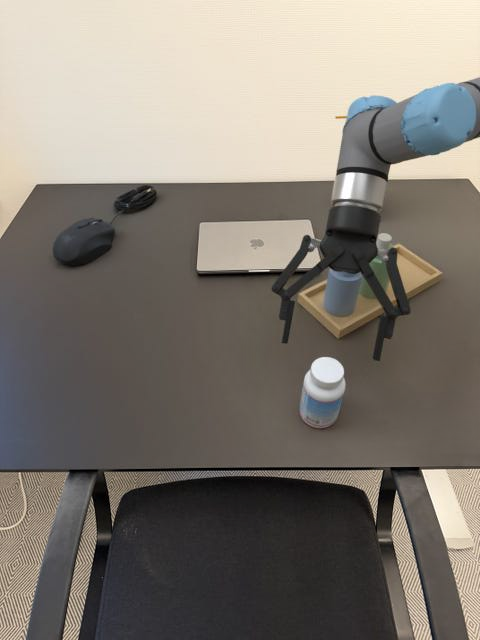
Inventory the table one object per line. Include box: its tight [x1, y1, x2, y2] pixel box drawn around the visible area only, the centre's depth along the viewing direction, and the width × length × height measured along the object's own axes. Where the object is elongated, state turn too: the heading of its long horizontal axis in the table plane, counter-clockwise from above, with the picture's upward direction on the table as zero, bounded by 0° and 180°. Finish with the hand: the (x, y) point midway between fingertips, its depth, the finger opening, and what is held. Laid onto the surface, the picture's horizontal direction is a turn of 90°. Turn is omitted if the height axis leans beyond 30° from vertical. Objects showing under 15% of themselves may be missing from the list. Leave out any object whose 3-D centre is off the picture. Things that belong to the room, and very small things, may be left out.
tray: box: [297, 243, 443, 340], centre depth 92 cm, size 28×12×2 cm, turn 124°
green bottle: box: [359, 232, 395, 299], centre depth 88 cm, size 6×6×12 cm
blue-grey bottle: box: [323, 267, 363, 317], centre depth 85 cm, size 6×6×12 cm
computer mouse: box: [52, 184, 158, 266], centre depth 106 cm, size 10×32×6 cm, turn 154°
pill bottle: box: [299, 356, 346, 429], centre depth 70 cm, size 6×6×11 cm
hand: (329, 351), depth 70 cm, fingers open, 13 cm apart
